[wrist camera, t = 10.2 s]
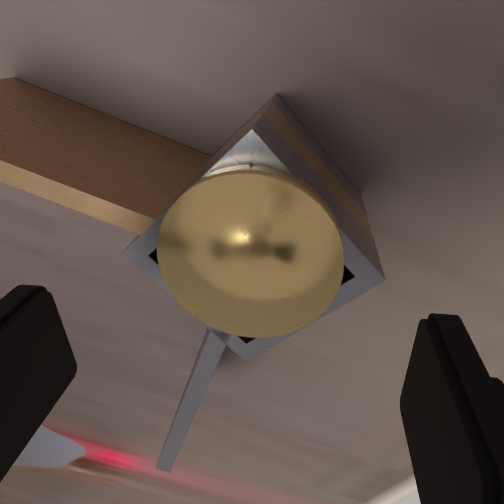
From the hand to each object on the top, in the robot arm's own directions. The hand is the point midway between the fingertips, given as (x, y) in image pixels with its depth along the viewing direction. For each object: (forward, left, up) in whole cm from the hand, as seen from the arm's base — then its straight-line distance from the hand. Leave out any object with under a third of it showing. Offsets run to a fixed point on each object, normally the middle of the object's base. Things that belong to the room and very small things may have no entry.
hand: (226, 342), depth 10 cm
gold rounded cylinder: (0, 0, -12) cm, 12 cm away
